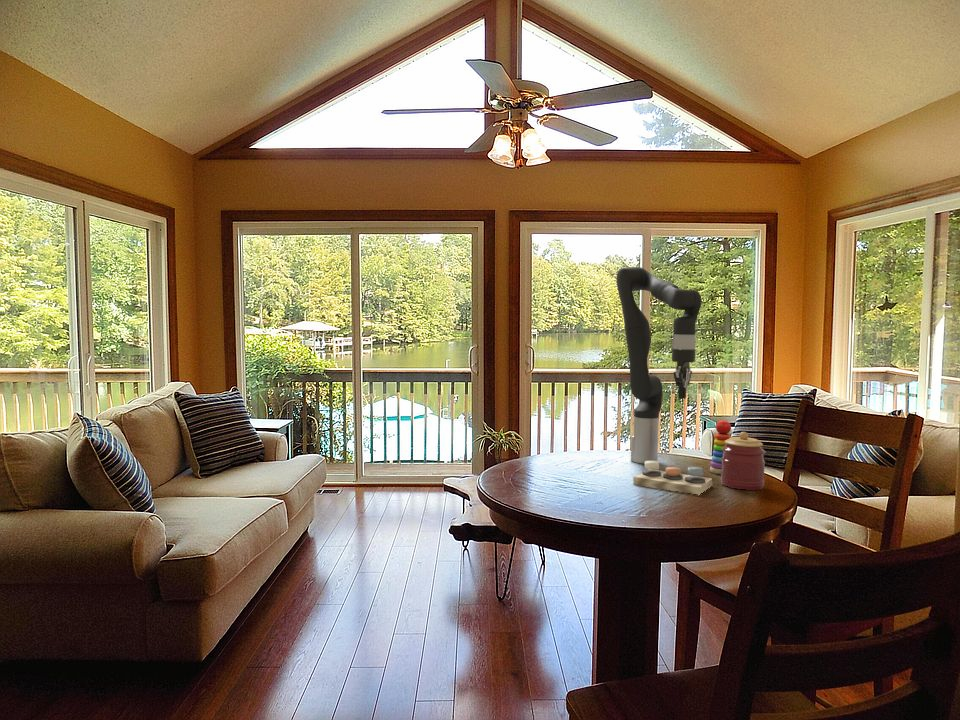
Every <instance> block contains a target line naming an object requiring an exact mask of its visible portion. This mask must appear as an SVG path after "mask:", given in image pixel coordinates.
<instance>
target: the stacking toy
mask: <svg viewBox="0 0 960 720" xmlns="http://www.w3.org/2000/svg"><path fill="white" fill-rule="evenodd" d="M731 429H732V424H731V423H730V422H729V421H727V420H725V419H721V420H718V421H717V423H716V424H715V430H716V431H717V433H716V434H715V439H714V441H713V442H714V443H713V444H714V445H713V451H712V456H711V461H710V463H709V464H710V467H709V471H710V472H711V473H712V474H716V475H721V473H722V459H721V458H722V457H723V450H722V447H723V446H725V445H726V443H725V440H727V439H729V438H730V437H732V436H731V435H730V434H729V433H730V432H731Z"/></svg>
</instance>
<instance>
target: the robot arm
mask: <svg viewBox="0 0 960 720" xmlns="http://www.w3.org/2000/svg"><path fill="white" fill-rule="evenodd" d="M615 278H616V280H615V281H616V287H617V291H618V296H619V300H620V304H621V308H622V316H623V323H624V325H623V326H624V333H625V340H626V347H627V354H628V362H629V363H628V364H629V383H630V391H631V394H632V395H633V397H634V398H635V399H636V400H639V402H638V405H637V406H636V407H635V408H634V410H633V433H632V436H631V438H630V439H631V441H630V462H634V463H637V464H644V465H645V461H657V462H659V461H658V459H659V428H660V427H659V423H660V412H661V409H662V401H663V400H662V399H663V384H662V381H661V379H660V378H659V377H658V376H657V375H654V374H650V373H649V367H648V357H649V352H650V349H651V344H652V333H651V327H650V322H649V320H648V319H647V317H646V316H645V314H644V313H643V312H642V310H641V309H640V307H639V306H638V305H637V303H636V299H635V297H634V293H633V292H640V291H648V292H649V293H650V294H651V296H652V297H653V298H654V299H656V300H658V301H660V302H662V303H665V304H666V305H667V306H668V307H669V308H670V309H674V310H676V311H677V310H678V311H683V314H682V316H679V317H676V318H675V319H674V320H673V335H672V336H673V337H672V344H671V362H673V363H674V362H675V363H676V367H675V371H673V377H674V381H675V386H676V387H677V388H678V394H677V395H678V397H677V398H678V399H680V400H685V399H687V388H688V386H689V385H690V382H691V378H692V374H693V371H692V370H691V366H690V363H694V362H695V361H696V346H697V345H696V344H697V343H696V322H697V319H698V317H699V313H700V310H701V306H702V295H701V294H700V292H699V291H697V290H696V289H685V288H683V289H682V288H680V287H679V286H678V285H676V284H674V283H673V282H669V281H666V280H663V279H660V278H659V277H657V276H655V275H654V274H653V273H651V272H650V271H648V270H647V269H645V268H644V267H640V266H629V267H628V266H626V267H620V268H619V269H618V270H617V272H616V277H615Z"/></svg>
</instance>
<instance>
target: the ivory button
mask: <svg viewBox="0 0 960 720" xmlns="http://www.w3.org/2000/svg"><path fill="white" fill-rule="evenodd" d="M644 469H645V470H648V469H650V470H658V471H659V469H660V461H658V462H657V461H645V464H644Z"/></svg>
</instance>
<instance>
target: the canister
mask: <svg viewBox="0 0 960 720" xmlns="http://www.w3.org/2000/svg"><path fill="white" fill-rule="evenodd" d="M725 443H726V445H725V446H723V447H722V450H723V457H722V458H721V459H722V473H721V474H720V481H721V485H722V484H723V485H722V486H724V485H725V486H724V487H726V486H728V487H727V488H729V487H731V489H734V488H737V489H736V490H740V489H746V490H745V491H758V490H757V489H761V490H762V488H763V489H764V485H765V464H766V461H765V460H764V455H765V454H766V450H765V449H763V445H764V444H763V443H762V442H761V441H760V440H758V439H757V438H754V437H749V434H748V432H746V431H741V432H740V433H739V436H731V437H730V438H729V439H727V440H725Z"/></svg>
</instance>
